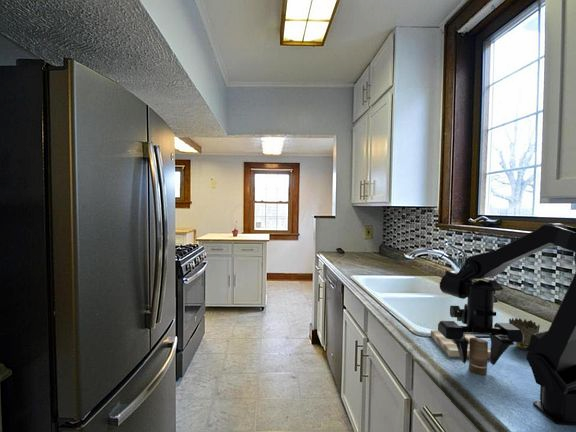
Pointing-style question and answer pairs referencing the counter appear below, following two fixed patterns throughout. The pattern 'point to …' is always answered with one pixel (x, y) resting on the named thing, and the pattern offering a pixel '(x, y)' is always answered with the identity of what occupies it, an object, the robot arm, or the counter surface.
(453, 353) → the board
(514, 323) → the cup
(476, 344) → the peg
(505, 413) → the counter surface
